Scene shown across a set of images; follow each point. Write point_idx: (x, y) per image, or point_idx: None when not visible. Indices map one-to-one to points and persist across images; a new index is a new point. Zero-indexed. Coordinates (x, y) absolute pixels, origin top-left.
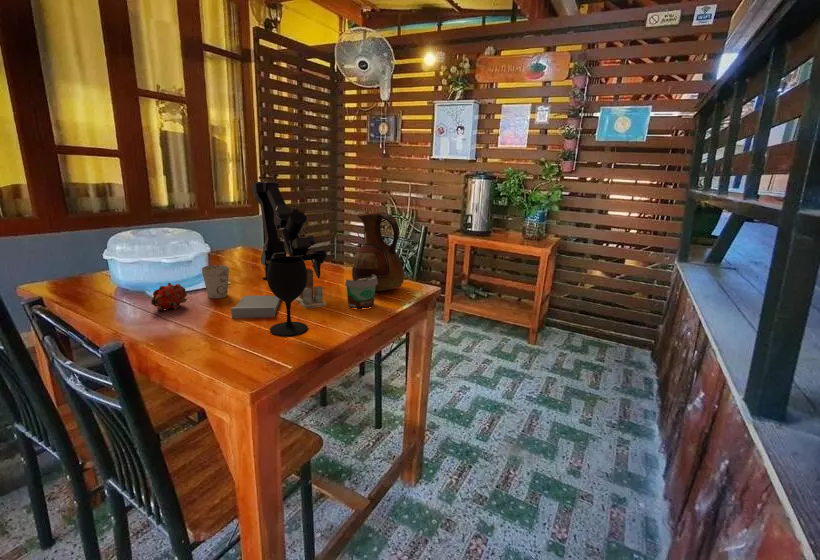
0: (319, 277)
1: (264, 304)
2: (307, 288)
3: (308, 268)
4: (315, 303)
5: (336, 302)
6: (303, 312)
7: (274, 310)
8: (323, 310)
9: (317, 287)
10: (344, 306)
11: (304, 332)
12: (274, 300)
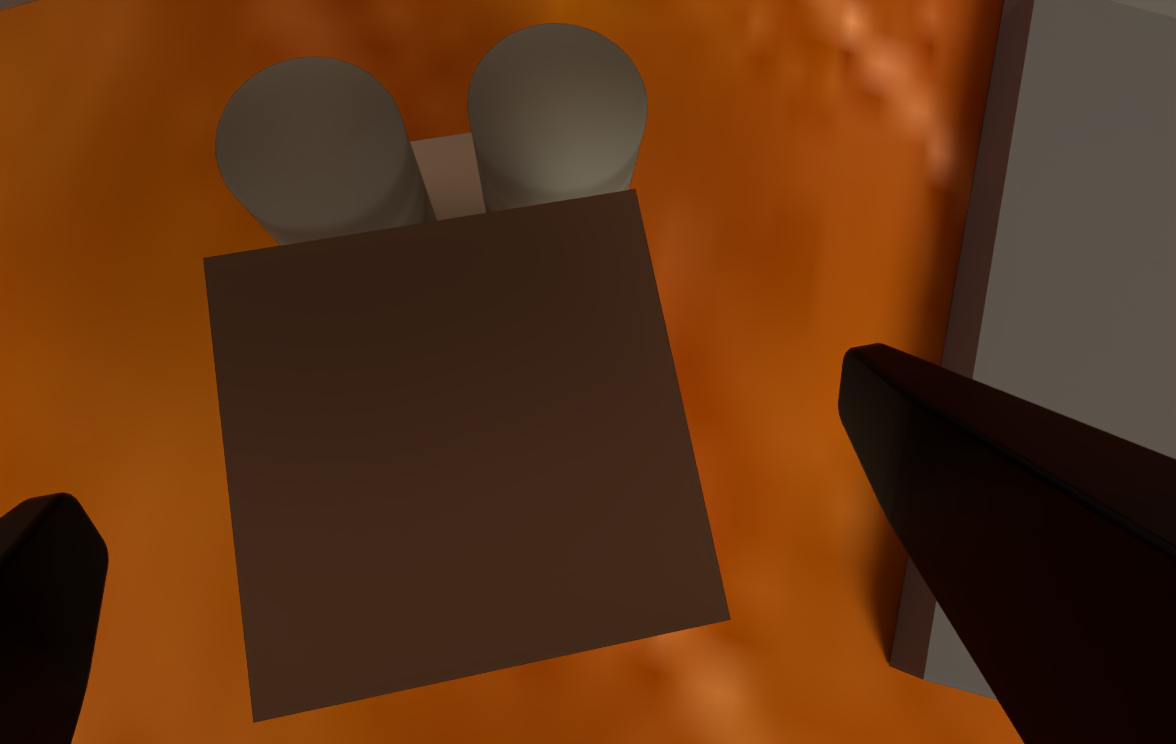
0: (64, 520)
1: (1167, 280)
2: (548, 140)
3: (278, 695)
4: (444, 193)
5: (101, 271)
6: (658, 24)
7: (1036, 2)
8: (398, 12)
9: (326, 152)
10: (66, 69)
11: None
12: None
